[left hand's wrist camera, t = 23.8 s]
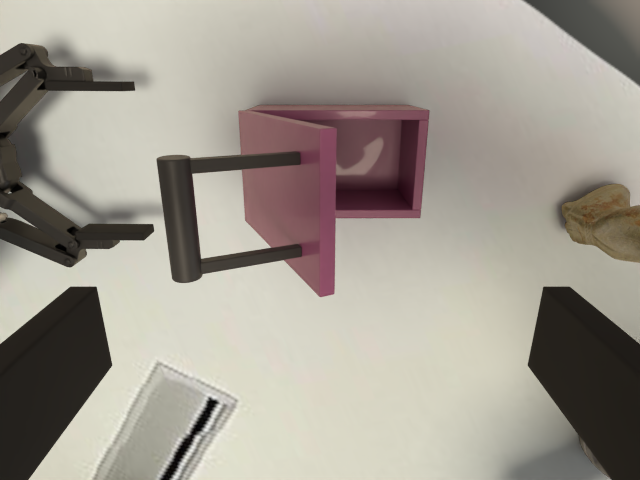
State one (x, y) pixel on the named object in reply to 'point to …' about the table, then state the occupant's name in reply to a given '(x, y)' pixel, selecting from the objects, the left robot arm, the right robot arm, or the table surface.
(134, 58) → the table surface
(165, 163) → the lid
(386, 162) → the chest
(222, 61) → the table surface
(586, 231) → the sculpture
